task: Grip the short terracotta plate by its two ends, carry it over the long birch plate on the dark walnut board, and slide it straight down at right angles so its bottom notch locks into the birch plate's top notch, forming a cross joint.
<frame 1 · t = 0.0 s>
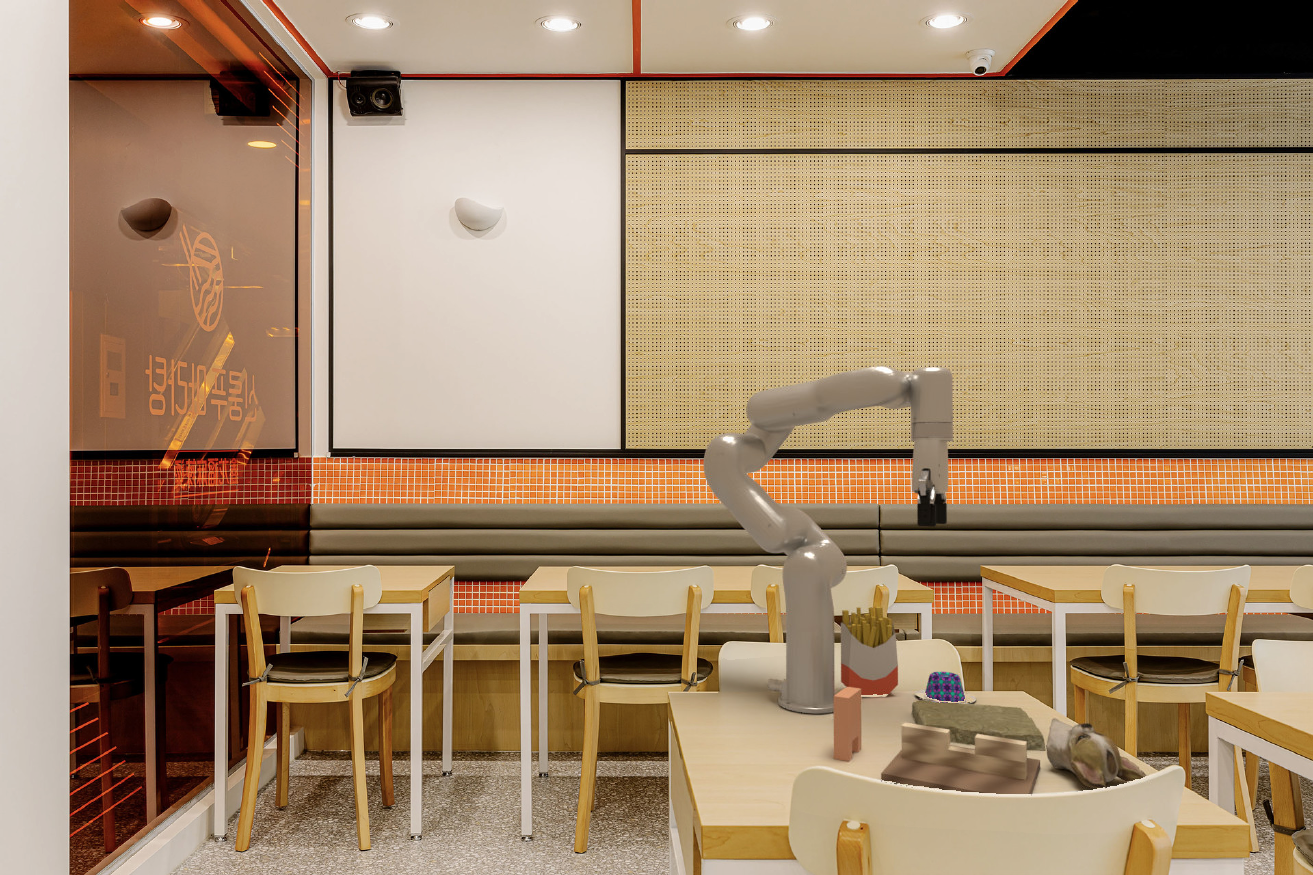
hand: (932, 524, 153), 37 cm above the table, fingers open, 9 cm apart
pudding: (945, 700, 170), on the table
decorative tile: (975, 734, 148), on the table
notched plate: (847, 753, 135), on the table
french fries container: (869, 696, 172), on the table
slotted stand: (962, 774, 126), on the table
ceramic sculpture: (1090, 781, 124), on the table
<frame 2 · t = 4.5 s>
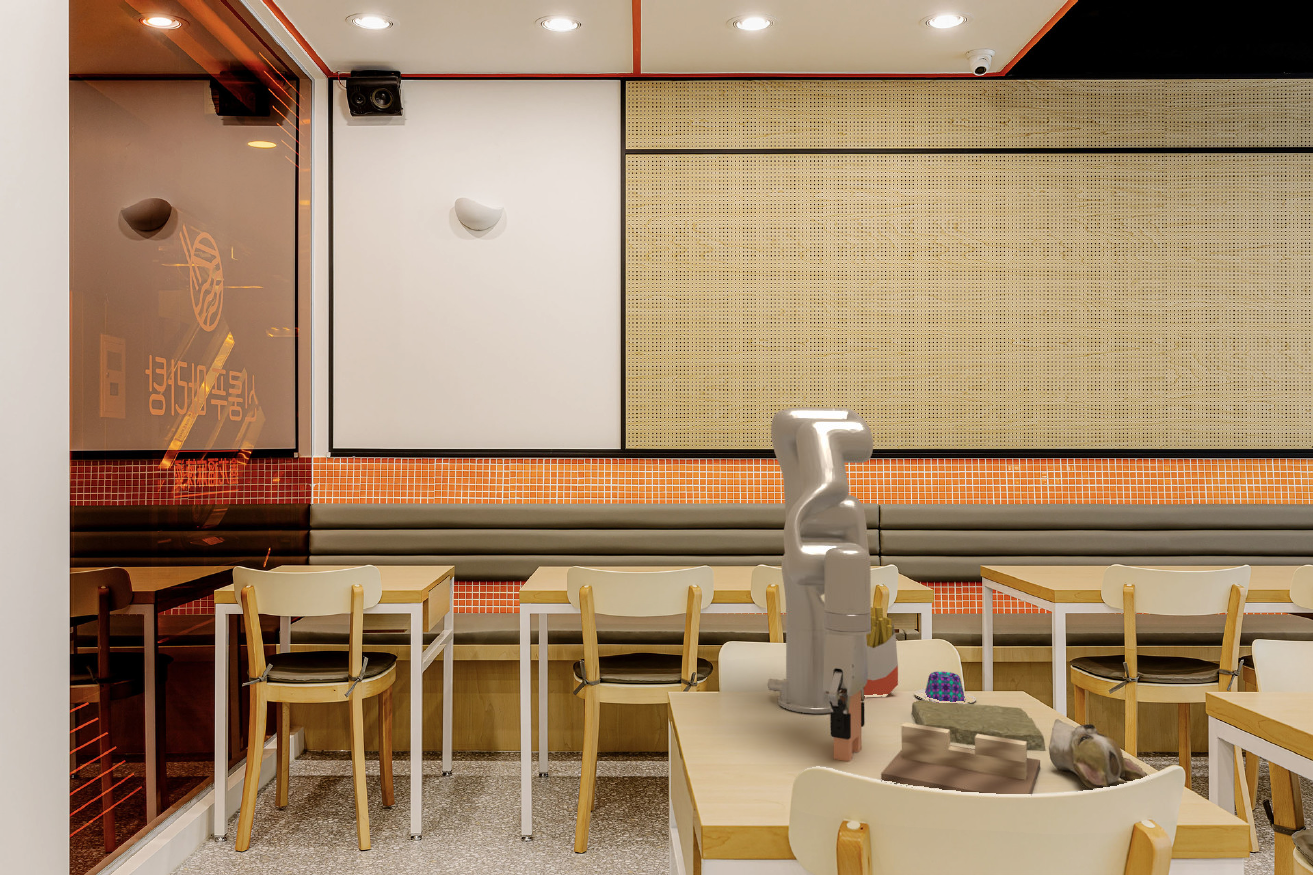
hand: (847, 730, 135), 4 cm above the table, fingers closed on notched plate, 7 cm apart
notched plate: (847, 753, 135), on the table, touching gripper
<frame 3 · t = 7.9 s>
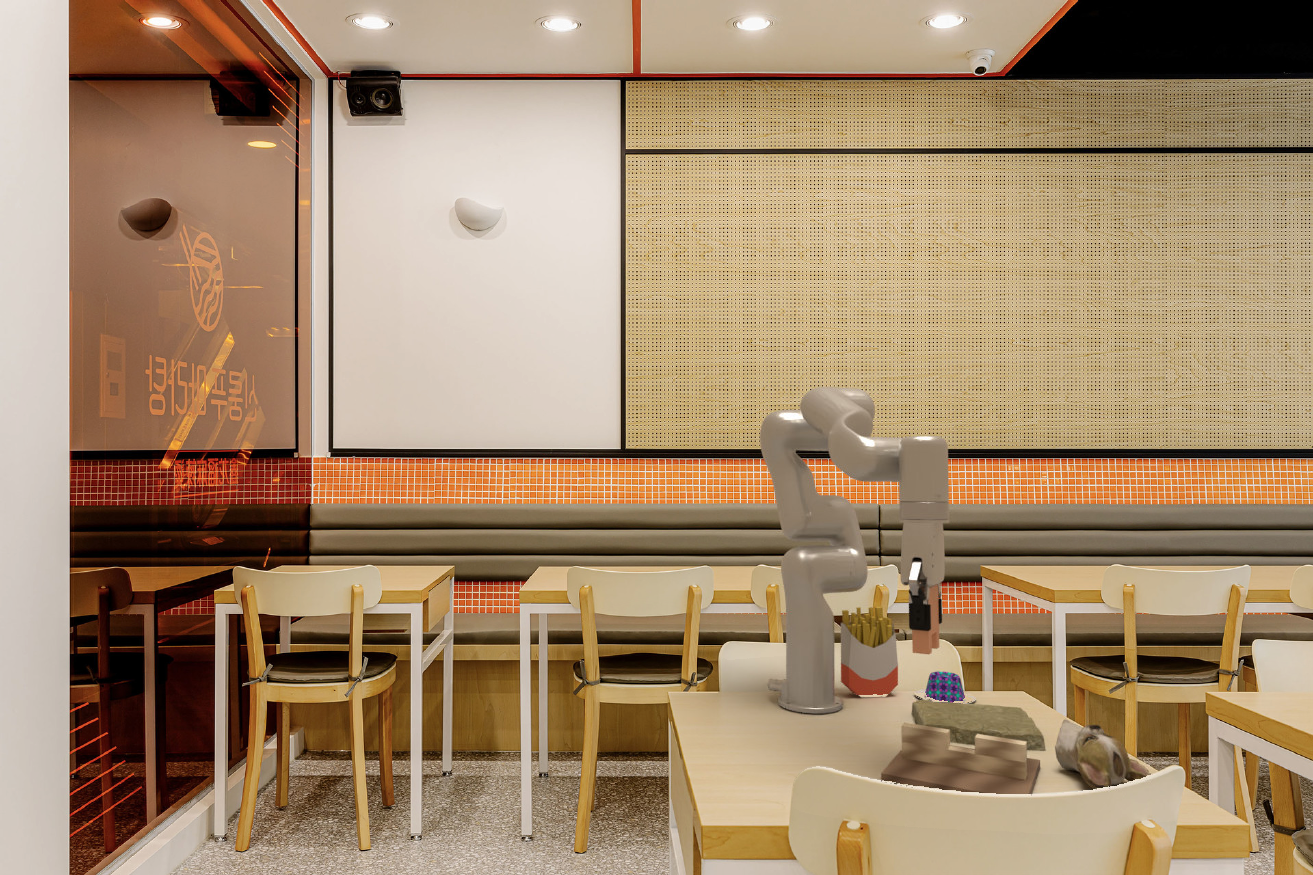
hand: (926, 625, 130), 22 cm above the table, fingers closed on notched plate, 7 cm apart
notched plate: (926, 649, 129), point 18 cm above the table, touching gripper
when the fingers open (6 cm above the table, at t = 11.6 s): notched plate stays where it is, resting on slotted stand.
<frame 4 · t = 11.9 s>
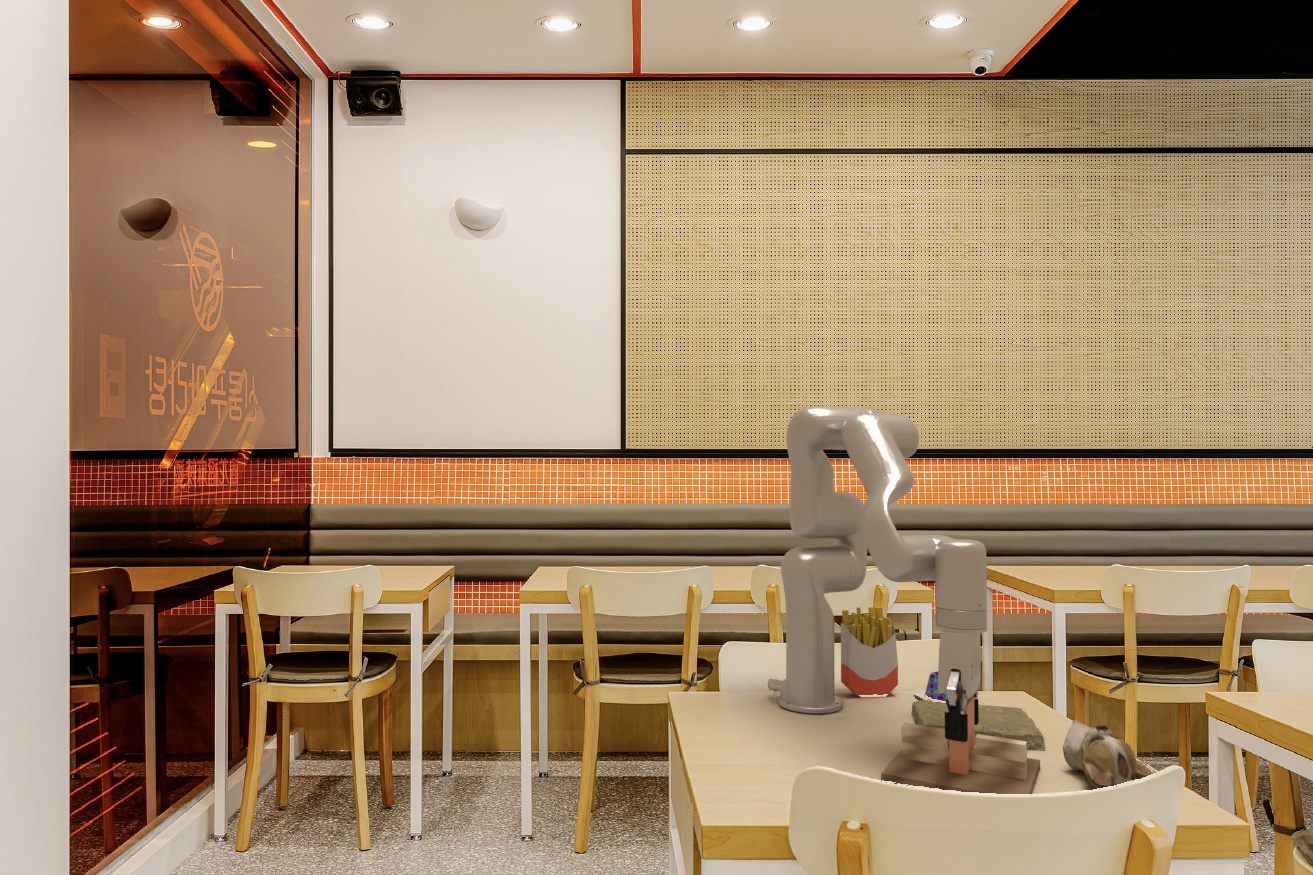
hand: (962, 731, 126), 6 cm above the table, fingers open, 9 cm apart
notched plate: (962, 766, 126), point 1 cm above the table, touching slotted stand
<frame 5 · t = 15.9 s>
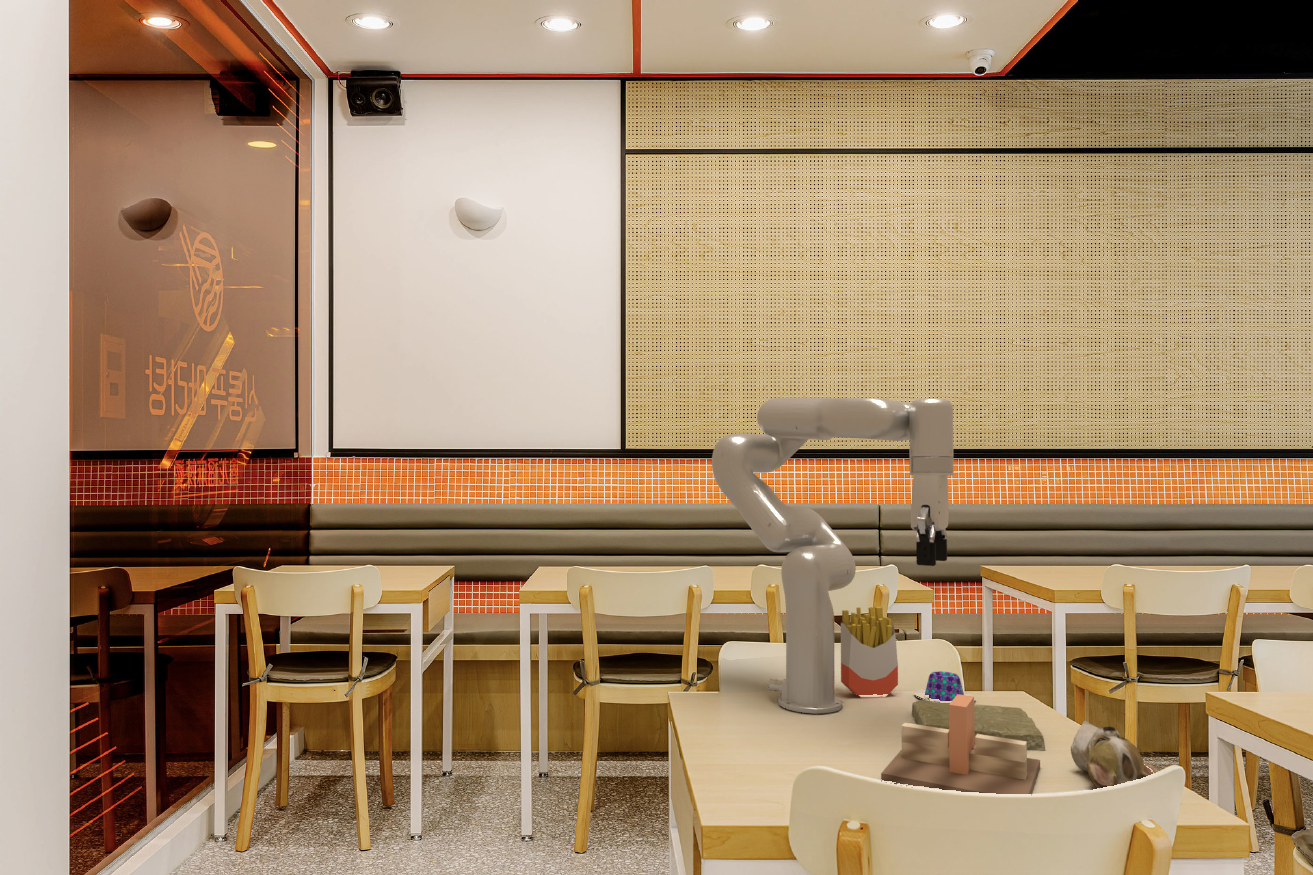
hand: (932, 562, 147), 30 cm above the table, fingers open, 9 cm apart
at the end: notched plate 0.0 cm off-centre on the slotted stand, point 1.2 cm above the slotted stand's base; notched plate tilted 0°; the gripper is holding nothing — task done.
